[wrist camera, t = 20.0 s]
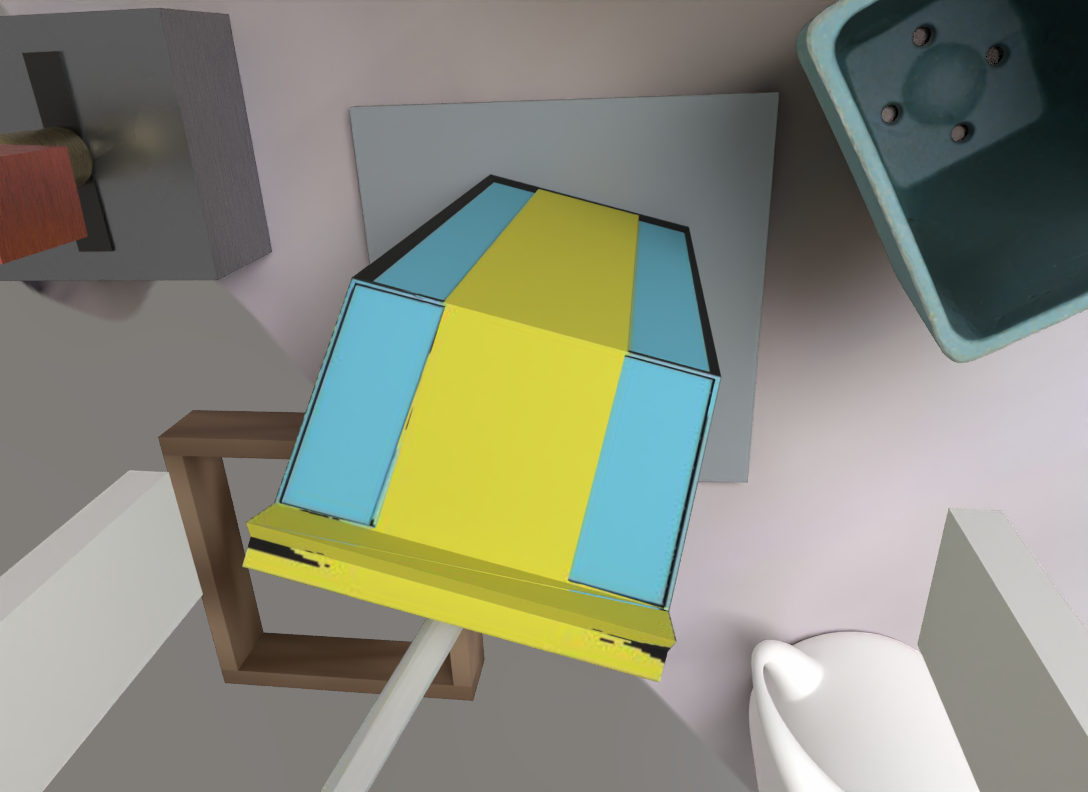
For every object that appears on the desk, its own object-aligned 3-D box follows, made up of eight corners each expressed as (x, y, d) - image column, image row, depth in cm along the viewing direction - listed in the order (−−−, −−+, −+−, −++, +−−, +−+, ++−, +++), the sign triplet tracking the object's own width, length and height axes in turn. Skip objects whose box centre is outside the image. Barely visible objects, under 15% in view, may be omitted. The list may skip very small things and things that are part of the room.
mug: (831, 534, 31) (915, 756, 21) (987, 720, 33) (1124, 993, 24) (660, 631, 34) (663, 864, 24) (815, 794, 36) (875, 1062, 27)
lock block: (12, 25, 27) (-91, 20, 23) (228, 14, 25) (156, 7, 22) (78, 253, 30) (-4, 281, 26) (271, 251, 29) (215, 281, 25)
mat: (355, 106, 26) (349, 107, 26) (776, 92, 24) (779, 92, 24) (401, 464, 32) (397, 471, 31) (745, 474, 30) (747, 482, 29)
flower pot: (1138, 137, 24) (1393, 181, 15) (860, 275, 26) (953, 374, 18) (1044, -150, 21) (1290, -278, 13) (747, 35, 24) (797, 26, 16)
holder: (192, 410, 32) (158, 437, 30) (462, 416, 31) (447, 445, 28) (250, 644, 37) (224, 683, 35) (484, 659, 36) (473, 700, 33)
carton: (442, 375, 29) (177, 784, 13) (482, 172, 26) (192, 373, 10) (629, 426, 29) (602, 905, 13) (693, 228, 26) (767, 531, 9)
